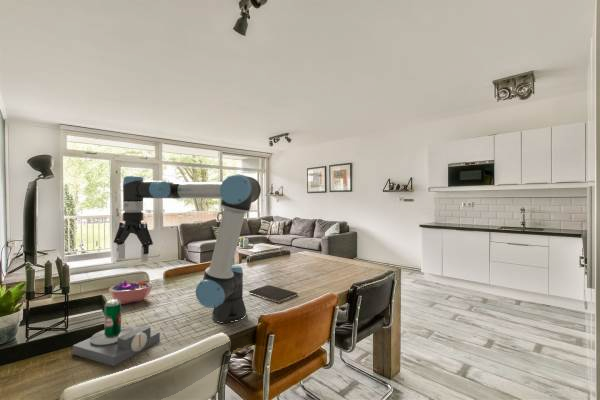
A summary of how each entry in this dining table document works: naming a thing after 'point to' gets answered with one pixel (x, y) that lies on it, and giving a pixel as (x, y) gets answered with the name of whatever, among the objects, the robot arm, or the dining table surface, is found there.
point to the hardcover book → (273, 293)
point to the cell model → (130, 291)
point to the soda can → (112, 318)
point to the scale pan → (103, 340)
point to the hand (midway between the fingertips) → (132, 260)
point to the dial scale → (118, 346)
